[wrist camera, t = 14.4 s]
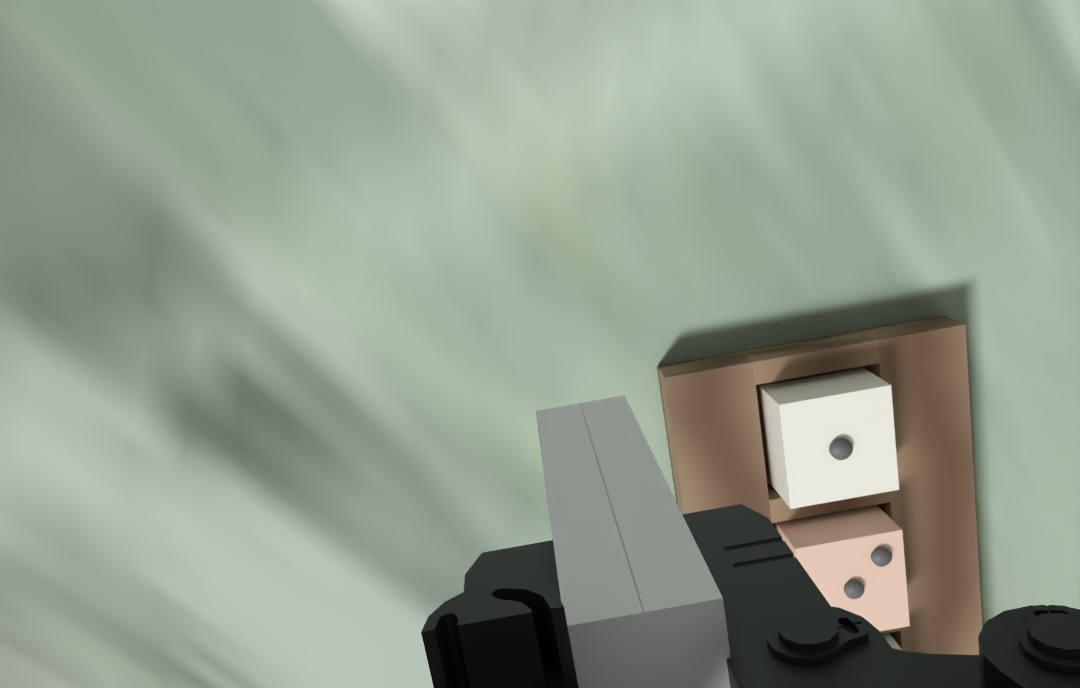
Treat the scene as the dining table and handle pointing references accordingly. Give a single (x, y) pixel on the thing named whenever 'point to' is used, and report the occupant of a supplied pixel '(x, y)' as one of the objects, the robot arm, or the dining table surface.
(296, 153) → the dining table surface
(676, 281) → the dining table surface
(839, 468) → the tile one
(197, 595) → the dining table surface
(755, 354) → the board
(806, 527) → the tile three
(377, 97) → the dining table surface
